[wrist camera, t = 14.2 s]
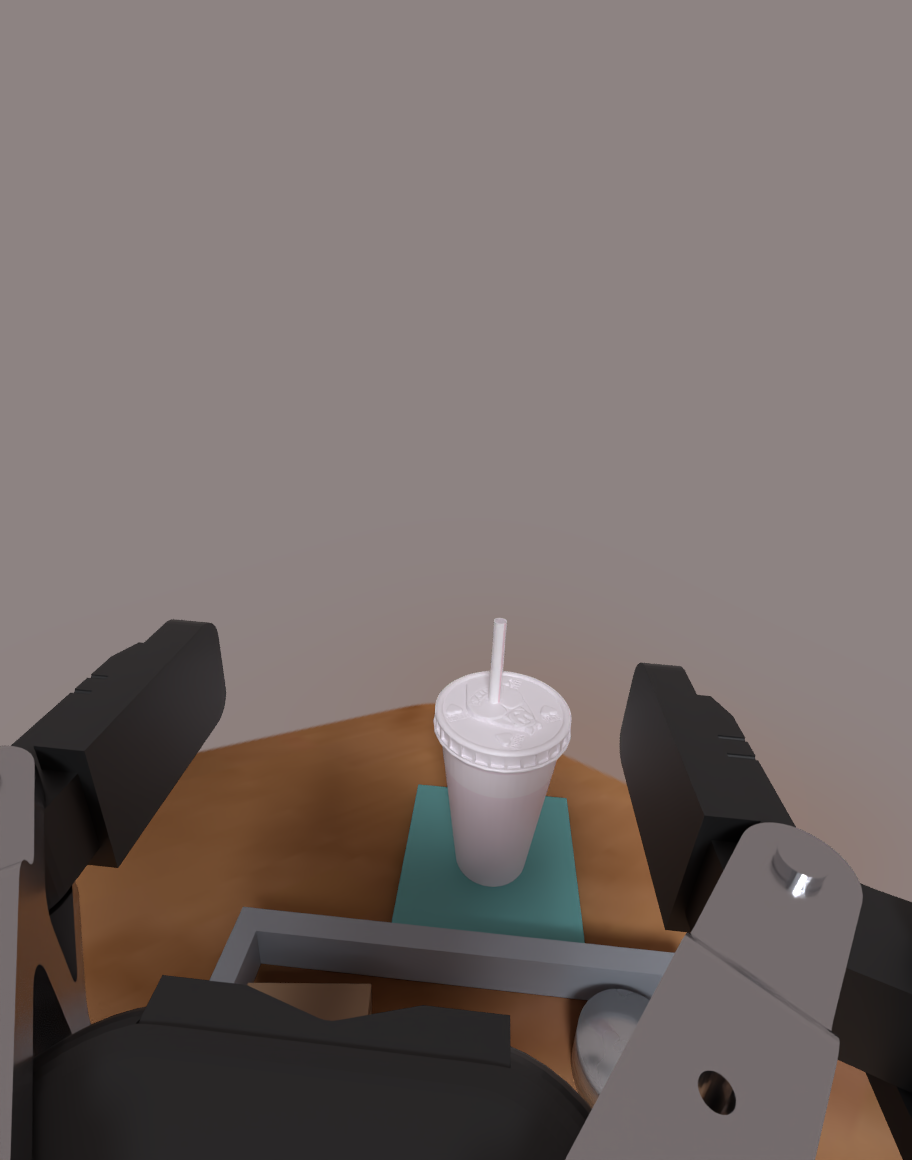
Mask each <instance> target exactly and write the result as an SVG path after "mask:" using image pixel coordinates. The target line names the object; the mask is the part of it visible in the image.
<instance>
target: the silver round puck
mask: <svg viewBox="0 0 912 1160" xmlns="http://www.w3.org/2000/svg"><path fill="white" fill-rule="evenodd" d="M649 1001H650V1000H648V999H647V998H645V997H643V996H641V995H640V994H637V993H635V992H632V991H628V990H623V989H609V990H605V991H602V992H599V993H597V994H596V995H594V996H593V997H592V998H591V999H589V1000H588V1002H587V1003H586V1004H585V1006H584V1007H583V1009H582V1011H581V1014H580V1017H579V1020H578V1025H577V1030H576V1035H575V1039H574V1044H573V1049H572V1056H571V1065H572V1073H573V1078H574V1082H575V1085H576V1088H577V1090H578V1093H579V1095H580V1096H581V1097H582V1098H583V1099H584V1100H585V1101H586V1102H587V1103H588V1104H589V1105H590V1107H591V1108H593V1106H594V1104H595V1103H596V1101H597V1099H598V1097H599V1095H600V1093H601V1091H602V1089H603V1087H604V1086H605V1084H606V1082H607V1080H608V1078H609V1076H610V1074H611V1072H612V1071H613V1069H614V1067H615V1065H616V1063H617V1061H618V1059H619V1057H620V1056H621V1054H622V1052H623V1050H624V1048H625V1046H626V1044H627V1042H628V1040H629V1039H630V1037H631V1035H632V1033H633V1031H634V1029H635V1027H636V1025H637V1024H638V1022H639V1020H640V1018H641V1016H642V1014H643V1012H644V1010H645V1009H646V1007H647V1005H648V1003H649Z"/></svg>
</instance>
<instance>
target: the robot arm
mask: <svg viewBox="0 0 912 1160" xmlns="http://www.w3.org/2000/svg"><path fill="white" fill-rule="evenodd" d="M91 675H92V676H91V678H87V679H86V680H85V681H83V682H82V683H81V684H80V685H79V686H78V687H77V688H75V692H74V693H70V694H69V695H68V696H66V697H65V698H64V699H63V700H62V701H61V702H60V703H58V705H56V706H55V707H54V708H53V709H52V710H51V711H50V712H48V713H47V714H46V715H45V716H44V717H43V718H42V719H40V720H39V721H38V722H37V723H36V724H35V725H34V726H33V727H31V728H30V729H29V730H28V731H27V732H26V733H25V734H24V735H23V736H21V737H20V738H19V739H18V740H17V741H16V742H15V743H13V744H12V745H11V746H0V1160H815V1157H816V1153H817V1148H818V1144H819V1140H820V1135H821V1131H822V1126H823V1122H824V1117H825V1113H826V1109H827V1104H828V1100H829V1095H830V1091H831V1086H832V1082H833V1078H834V1073H835V1069H836V1064H837V1059H838V1060H840V1061H842V1062H844V1063H846V1064H849V1065H851V1066H853V1067H855V1068H857V1069H860V1070H862V1071H864V1072H866V1075H867V1077H868V1079H869V1082H870V1084H871V1086H872V1089H873V1091H874V1093H875V1096H876V1098H877V1100H878V1103H879V1105H880V1107H881V1110H882V1112H883V1114H884V1117H885V1119H886V1121H887V1124H888V1126H889V1128H890V1131H891V1133H892V1135H893V1138H894V1140H895V1142H896V1145H897V1147H898V1149H899V1152H900V1154H901V1156H902V1159H903V1160H912V902H909V901H906V900H904V899H901V898H898V897H895V896H892V895H889V894H887V893H884V892H881V891H878V890H875V889H873V888H870V887H868V886H865V885H863V884H861V883H860V882H859V880H858V878H857V876H856V874H855V873H854V871H853V869H852V868H851V867H850V866H849V865H848V863H847V862H846V861H845V860H844V859H843V858H842V857H841V856H840V855H839V854H838V853H837V852H836V851H835V850H833V848H831V847H830V846H829V845H827V844H826V843H825V842H823V841H822V840H820V839H818V838H816V837H815V836H813V835H812V834H810V833H807V832H805V831H803V830H801V829H798V828H796V826H795V825H794V823H793V821H792V820H791V818H790V816H789V814H788V813H787V811H786V809H785V807H784V805H783V804H782V802H781V800H780V798H779V797H778V795H777V793H776V791H775V789H774V788H773V786H772V784H771V783H770V781H769V779H768V777H767V775H766V774H765V772H764V770H763V768H762V767H761V765H760V763H759V761H757V760H755V754H754V753H753V751H752V749H751V747H750V745H749V744H748V742H745V737H744V735H743V733H742V731H741V730H740V728H739V726H738V724H737V723H736V721H735V719H734V717H733V716H732V715H731V714H730V713H729V712H728V711H727V710H725V709H724V708H723V707H722V706H721V705H720V704H719V703H718V702H716V701H715V700H714V699H713V698H712V697H711V696H701V695H697V694H696V692H695V690H694V688H693V686H692V684H691V682H690V680H689V678H688V676H687V674H686V672H685V670H684V669H683V668H682V667H681V666H672V665H660V664H649V663H639V664H638V665H637V667H636V669H635V672H634V675H633V680H632V684H631V688H630V693H629V697H628V701H627V706H626V710H625V714H624V718H623V722H622V727H621V733H620V758H621V763H622V767H623V771H624V775H625V779H626V783H627V786H628V790H629V794H630V798H631V802H632V805H633V809H634V813H635V817H636V821H637V824H638V828H639V832H640V836H641V840H642V843H643V847H644V851H645V855H646V859H647V862H648V866H649V870H650V874H651V878H652V881H653V885H654V889H655V893H656V897H657V900H658V904H659V908H660V912H661V916H662V919H663V923H664V927H665V930H672V931H681V932H687V933H686V935H685V936H684V938H683V939H682V941H681V943H680V945H679V947H678V948H677V950H676V952H675V954H674V956H673V958H672V960H671V961H670V963H669V965H668V967H667V969H666V971H665V973H664V975H663V977H662V978H661V980H660V982H659V984H658V986H657V988H656V990H655V992H654V993H653V995H652V997H651V999H650V1001H649V1003H648V1005H647V1007H646V1009H645V1010H644V1012H643V1014H642V1016H641V1018H640V1020H639V1022H638V1024H637V1025H636V1027H635V1029H634V1031H633V1033H632V1035H631V1037H630V1039H629V1040H628V1042H627V1044H626V1046H625V1048H624V1050H623V1052H622V1054H621V1056H620V1057H619V1059H618V1061H617V1063H616V1065H615V1067H614V1069H613V1071H612V1072H611V1074H610V1076H609V1078H608V1080H607V1082H606V1084H605V1086H604V1087H603V1089H602V1091H601V1093H600V1095H599V1097H598V1099H597V1101H596V1103H595V1104H594V1106H593V1108H591V1107H590V1105H589V1104H588V1103H587V1102H586V1101H585V1100H584V1099H583V1098H582V1097H581V1096H580V1095H579V1094H578V1093H577V1092H576V1091H575V1090H574V1089H573V1088H572V1087H571V1086H570V1085H569V1084H568V1083H567V1082H566V1081H565V1080H564V1079H562V1078H561V1077H560V1076H559V1075H557V1074H556V1073H555V1072H554V1071H552V1070H551V1069H550V1068H549V1067H547V1066H546V1065H544V1064H543V1063H541V1062H539V1061H538V1060H536V1059H534V1058H533V1057H531V1056H530V1055H528V1054H526V1053H524V1052H522V1051H520V1050H517V1049H515V1048H513V1047H511V1046H510V1015H502V1014H494V1013H485V1012H476V1011H468V1010H459V1009H451V1008H442V1007H433V1006H425V1005H422V1006H416V1007H411V1008H405V1009H399V1010H393V1011H388V1012H382V1013H376V1014H370V1015H365V1016H359V1017H353V1018H348V1019H342V1020H334V1021H329V1020H323V1019H320V1018H318V1017H316V1016H313V1015H311V1014H309V1013H307V1012H305V1011H302V1010H300V1009H298V1008H296V1007H294V1006H291V1005H289V1004H287V1003H285V1002H283V1001H281V1000H278V999H276V998H274V997H272V996H270V995H267V994H265V993H263V992H261V991H259V990H257V989H254V988H252V987H250V986H248V985H244V984H235V983H226V982H218V981H209V980H200V979H192V978H183V977H175V976H166V975H162V977H161V979H160V981H159V983H158V985H157V987H156V989H155V991H154V993H153V995H152V997H151V999H150V1001H149V1003H148V1005H147V1007H142V1008H137V1009H133V1010H130V1011H127V1012H123V1013H120V1014H116V1015H113V1016H111V1017H108V1018H106V1019H104V1020H101V1021H99V1022H96V1023H94V1024H91V1023H90V1019H89V1014H88V1008H87V1001H86V991H85V976H84V962H83V947H82V932H81V917H80V902H79V892H78V887H77V884H76V881H75V880H76V879H77V878H78V876H79V875H80V874H81V872H82V871H83V870H84V868H85V867H86V866H87V865H95V866H105V867H114V868H118V867H119V866H120V864H121V863H122V861H123V860H124V858H125V857H126V856H127V854H128V853H129V851H130V850H131V848H132V847H133V845H134V844H135V842H136V841H137V840H138V838H139V837H140V835H141V834H142V832H143V831H144V829H145V828H146V827H147V825H148V824H149V822H150V821H151V819H152V818H153V816H154V815H155V813H156V812H157V811H158V809H159V808H160V806H161V805H162V803H163V802H164V800H165V799H166V797H167V796H168V795H169V793H170V792H171V790H172V789H173V787H174V786H175V784H176V783H177V781H178V780H179V779H180V777H181V776H182V774H183V773H184V771H185V770H186V768H187V767H188V766H189V764H190V763H191V761H192V760H193V758H194V757H195V755H196V754H197V752H198V751H199V750H200V748H201V747H202V745H203V743H204V742H205V740H206V739H207V738H208V736H209V735H210V733H211V732H212V731H213V729H214V728H215V726H216V725H217V723H218V722H219V720H220V718H221V715H222V713H223V709H224V706H225V699H226V687H225V680H224V673H223V666H222V659H221V652H220V644H219V637H218V632H217V629H216V627H215V626H214V625H213V624H212V623H207V622H196V621H184V620H169V621H167V622H166V623H165V624H164V625H163V626H162V627H161V628H160V629H159V630H157V631H156V632H155V633H154V634H153V635H152V636H151V637H150V638H149V639H148V640H147V641H146V642H144V643H137V644H135V645H133V646H132V647H129V648H127V649H126V650H123V651H122V652H120V653H117V654H116V655H114V656H112V657H110V658H109V659H108V660H107V661H106V662H105V663H104V664H102V665H101V666H100V667H99V668H98V669H97V670H96V671H95V672H93V673H92V674H91ZM689 932H690V933H689Z"/></svg>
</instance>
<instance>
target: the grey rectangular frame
mask: <svg viewBox="0 0 912 1160" xmlns="http://www.w3.org/2000/svg"><path fill="white" fill-rule="evenodd" d="M674 954H675V953H670V952H661V951H652V950H642V949H633V948H624V947H614V946H605V945H596V944H586V943H577V942H568V941H558V940H549V939H539V938H530V937H521V936H511V935H502V934H493V933H483V932H474V931H465V930H455V929H446V928H437V927H427V926H418V925H409V924H399V923H390V922H381V921H371V920H362V919H353V918H343V917H334V916H324V915H315V914H306V913H296V912H287V911H278V910H268V909H259V908H250V907H243V908H242V910H241V913H240V915H239V917H238V919H237V921H236V923H235V926H234V928H233V930H232V932H231V934H230V937H229V939H228V941H227V943H226V945H225V948H224V950H223V952H222V954H221V956H220V959H219V961H218V963H217V965H216V967H215V970H214V972H213V974H212V976H211V978H210V980H209V981H218V982H226V983H235V984H244V985H247V984H248V983H254V980H255V977H256V975H257V972H258V970H259V967H260V964H261V963H262V964H271V965H279V966H288V967H297V968H306V969H315V970H324V971H333V972H342V973H350V974H359V975H368V976H377V977H386V978H395V979H404V980H413V981H422V982H430V983H439V984H448V985H457V986H466V987H475V988H484V989H493V990H501V991H510V992H519V993H528V994H537V995H546V996H555V997H564V998H572V999H581V1000H589V999H591V998H592V997H593V996H594V995H596V994H597V993H599V992H602V991H605V990H609V989H623V990H628V991H632V992H635V993H637V994H640V995H641V996H643V997H645V998H647V999H648V1000H650V999H651V997H652V995H653V993H654V992H655V990H656V988H657V986H658V984H659V982H660V980H661V978H662V977H663V975H664V973H665V971H666V969H667V967H668V965H669V963H670V961H671V960H672V958H673V956H674Z"/></svg>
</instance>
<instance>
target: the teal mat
mask: <svg viewBox="0 0 912 1160" xmlns="http://www.w3.org/2000/svg"><path fill="white" fill-rule="evenodd" d="M392 923H399V924H409V925H418V926H427V927H437V928H446V929H455V930H465V931H474V932H483V933H493V934H502V935H511V936H521V937H530V938H539V939H549V940H558V941H568V942H577V943H585V941H584V933H583V925H582V917H581V909H580V901H579V893H578V885H577V877H576V870H575V862H574V854H573V846H572V838H571V830H570V822H569V814H568V806H567V798H558V797H547V796H545V799H544V803H543V806H542V809H541V812H540V816H539V819H538V822H537V826H536V829H535V832H534V835H533V839H532V842H531V845H530V848H529V852H528V855H527V858H526V861H525V865H524V868H523V870H522V872H521V874H520V875H519V876H518V877H517V878H516V879H515V880H514V881H512V882H510V883H509V884H506V885H503V886H497V887H489V886H483V885H480V884H477V883H475V882H473V881H472V880H470V879H469V878H467V877H466V876H465V875H464V874H463V873H462V871H461V870H460V868H459V866H458V864H457V861H456V854H455V846H454V837H453V829H452V821H451V812H450V804H449V796H448V787H439V786H429V785H418V789H417V794H416V799H415V805H414V810H413V815H412V820H411V825H410V830H409V836H408V841H407V846H406V851H405V856H404V861H403V866H402V872H401V877H400V882H399V887H398V892H397V897H396V902H395V908H394V913H393V918H392Z"/></svg>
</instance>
